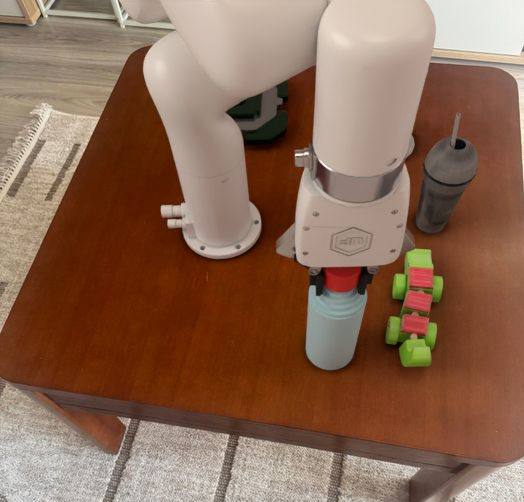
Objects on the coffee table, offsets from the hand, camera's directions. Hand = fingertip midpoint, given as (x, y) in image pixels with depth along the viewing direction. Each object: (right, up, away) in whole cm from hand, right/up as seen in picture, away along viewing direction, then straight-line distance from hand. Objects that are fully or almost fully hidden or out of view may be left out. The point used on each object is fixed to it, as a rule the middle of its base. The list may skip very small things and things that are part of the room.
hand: (339, 283), depth 59 cm
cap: (0, +1, -1) cm, 2 cm away
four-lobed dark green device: (-13, +35, +37) cm, 53 cm away
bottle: (+1, -7, +14) cm, 16 cm away
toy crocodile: (+13, -3, +16) cm, 21 cm away
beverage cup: (+18, +13, +24) cm, 32 cm away
